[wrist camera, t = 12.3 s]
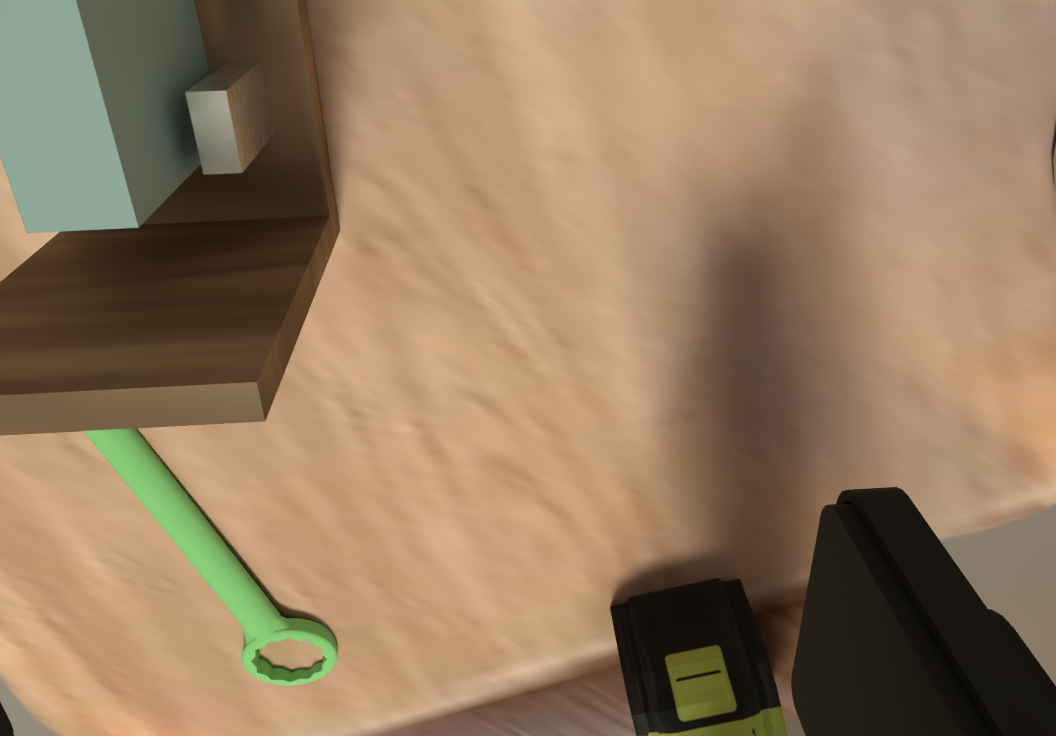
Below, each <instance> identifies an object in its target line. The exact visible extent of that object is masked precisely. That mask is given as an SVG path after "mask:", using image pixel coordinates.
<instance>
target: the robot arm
mask: <svg viewBox="0 0 1056 736" xmlns="http://www.w3.org/2000/svg"><path fill="white" fill-rule="evenodd" d="M1053 164H1054V179H1055V189H1056V144H1055V151H1054V158H1053ZM791 685H792V695H793V701H794V705H795V709H796V712H797V715H798V717H799V720H800V722H801V725H802V728H803V730H804V732H805V735H806V736H1056V686H1055V685H1054V683H1053V682H1052V680H1051V679H1050V678H1049V676H1048V675H1047V674H1046V672H1045V671H1044V669H1043V668H1042V667H1041V665H1040V664H1039V662H1038V661H1037V660H1036V658H1035V657H1034V655H1033V654H1032V653H1031V651H1030V650H1029V649H1028V647H1027V646H1026V644H1025V643H1024V642H1023V640H1022V639H1021V637H1020V636H1019V635H1018V633H1017V632H1016V630H1015V629H1014V628H1013V627H1012V626H1011V625H1010V623H1009V622H1008V621H1007V620H1006V619H1005V618H1004V617H1003V616H1002V615H1000V614H998V613H996V612H994V611H993V610H991V609H987V607H986V606H985V605H984V603H983V602H982V600H981V599H980V598H979V596H978V595H977V593H976V592H975V590H974V589H973V588H972V586H971V585H970V583H969V582H968V580H967V579H966V577H965V576H964V575H963V573H962V572H961V570H960V569H959V568H958V566H957V565H956V563H955V562H954V561H953V559H952V558H951V556H950V555H949V553H948V552H947V550H946V549H945V548H944V546H943V545H942V544H941V542H940V541H939V539H938V538H937V536H936V535H935V533H934V532H933V531H932V529H931V528H930V526H929V525H928V523H927V522H926V521H925V519H924V518H923V516H922V515H921V513H920V512H919V511H918V509H917V508H916V506H915V505H914V504H913V502H912V501H911V499H910V498H909V496H908V495H907V494H906V493H905V492H904V491H903V490H902V489H900V488H897V487H890V488H872V489H854V490H845V491H842V492H841V494H840V495H839V497H838V500H837V503H836V504H833V505H826V506H825V507H824V508H823V510H822V513H821V517H820V522H819V528H818V533H817V539H816V544H815V550H814V555H813V561H812V566H811V572H810V577H809V583H808V588H807V594H806V599H805V605H804V610H803V616H802V621H801V627H800V633H799V638H798V644H797V649H796V655H795V660H794V666H793V671H792V679H791ZM0 736H14V734H13V728H12V725H11V722H10V720H9V718H8V716H7V714H6V712H5V710H4V708H3V707H2V705H1V702H0Z"/></svg>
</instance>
